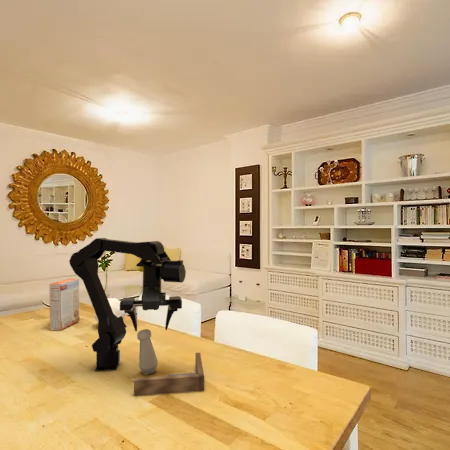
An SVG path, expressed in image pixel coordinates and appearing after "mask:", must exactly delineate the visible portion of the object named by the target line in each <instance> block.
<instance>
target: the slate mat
mask: <svg viewBox="0 0 450 450" xmlns="http://www.w3.org/2000/svg"><path fill="white" fill-rule="evenodd" d="M191 374H197V373H196V372H188V373H186V372H185V373H172V374H167V375H166V376H176V375H191Z"/></svg>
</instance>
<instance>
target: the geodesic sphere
mask: <svg viewBox="0 0 450 450" xmlns="http://www.w3.org/2000/svg"><path fill="white" fill-rule="evenodd" d="M107 299H108V301H109V304H110V306H111V309H112V311H113V313H114V315H116V316H117V317H120V316H122V318H123V320H124V319H125V317H126V313H124V311H125V310H124V311H121V310H120V302H121V300H120V299H118V298H116V297H115V298H114V297H113V296H112V297H108V296H107ZM94 319H95V320H96V322H97V323H98V322H99V321H98V318H97V315H96V313H95V312H94Z"/></svg>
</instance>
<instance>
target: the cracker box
mask: <svg viewBox="0 0 450 450" xmlns="http://www.w3.org/2000/svg"><path fill="white" fill-rule="evenodd" d="M48 285H49V330H50V329H53V330H52V331H58V330H62V329H63V330H65V329H67V328H69V327H71V326H73V325H75V324H77V323H79V322H80V278H68V279H67V278H66V279H63V280H58V281H56V282H51V283H49V284H48ZM78 321H79V322H78ZM76 322H77V323H76ZM74 323H75V324H74ZM72 324H73V325H72ZM70 325H71V326H70ZM68 326H69V327H68ZM66 327H67V328H66ZM64 328H65V329H64ZM63 330H62V331H63Z"/></svg>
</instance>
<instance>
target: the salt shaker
mask: <svg viewBox="0 0 450 450" xmlns="http://www.w3.org/2000/svg"><path fill="white" fill-rule="evenodd" d="M136 336H137V337H136V338H137V340H138V341H139V358H138V359H139V360H138V361H139V362H138V367H139V370H141V372H142V373H143V375H151V374H153V373H155V372H156V371H157V367H158V365H159V363H158V361H159V360H158V358H157V354H156V351H155V349H154V345H153V342H152V339H151V337H152V331H151V330H150V329H149V328H148V329H147V328H146V329H145V328H144V329H141V330H139V331H137V335H136Z"/></svg>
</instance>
